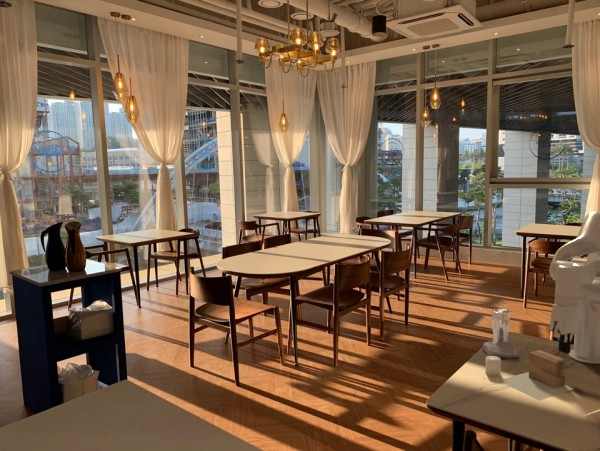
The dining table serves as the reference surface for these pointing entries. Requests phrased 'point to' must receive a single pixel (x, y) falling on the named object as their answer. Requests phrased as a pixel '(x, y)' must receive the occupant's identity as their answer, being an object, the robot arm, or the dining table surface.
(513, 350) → the stone block
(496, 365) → the white rounded cylinder
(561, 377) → the block
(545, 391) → the mat
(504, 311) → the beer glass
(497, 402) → the dining table surface
